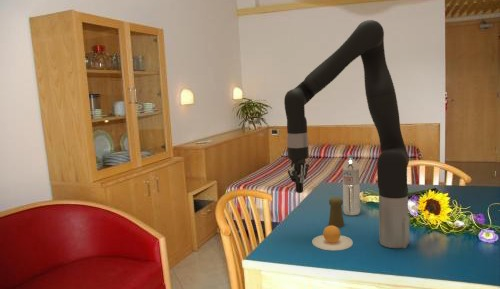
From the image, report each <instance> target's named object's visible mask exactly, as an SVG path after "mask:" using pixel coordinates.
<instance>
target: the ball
mask: <svg viewBox="0 0 500 289" xmlns="http://www.w3.org/2000/svg"><path fill="white" fill-rule="evenodd" d="M322 232H323V233H322V235H323V236H324V238H325V240H326V241H327V242H330V243H335V242H337V241H338V240H339V239H340V236H341V230H340V229H339V227H336V226H332V225H331V226H329V225H327V226H325V227H324V229H323V231H322Z"/></svg>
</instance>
